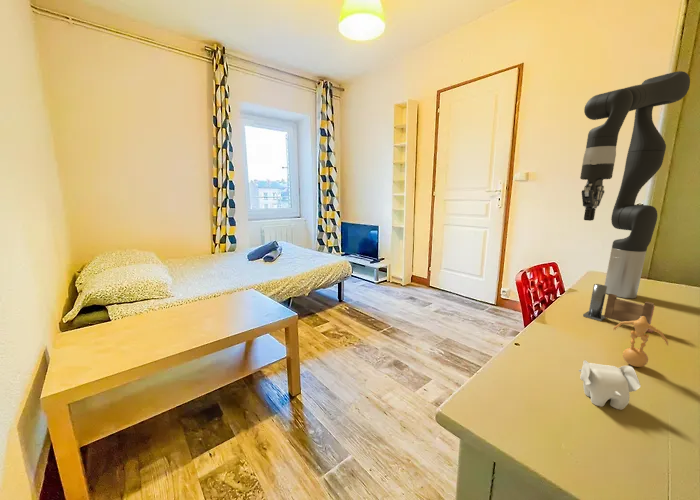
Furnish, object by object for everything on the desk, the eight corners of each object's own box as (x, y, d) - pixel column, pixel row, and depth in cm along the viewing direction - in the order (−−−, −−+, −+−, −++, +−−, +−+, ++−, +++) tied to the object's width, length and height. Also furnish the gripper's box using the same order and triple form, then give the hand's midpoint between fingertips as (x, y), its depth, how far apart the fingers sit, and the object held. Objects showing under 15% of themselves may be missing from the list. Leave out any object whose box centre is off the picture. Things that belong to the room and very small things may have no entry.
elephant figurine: (608, 384, 57) (615, 351, 56) (643, 421, 48) (653, 382, 47) (564, 378, 59) (570, 345, 58) (589, 412, 50) (597, 374, 48)
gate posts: (589, 311, 93) (595, 281, 91) (655, 329, 81) (663, 295, 79) (583, 316, 89) (588, 284, 87) (650, 335, 78) (658, 299, 76)
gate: (603, 317, 86) (608, 294, 85) (605, 315, 87) (609, 293, 86) (647, 328, 79) (653, 304, 78) (648, 327, 80) (654, 303, 79)
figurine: (661, 371, 62) (674, 318, 59) (658, 382, 58) (672, 326, 56) (610, 354, 68) (620, 305, 66) (604, 363, 64) (615, 312, 62)
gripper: (589, 165, 95) (581, 218, 99) (575, 163, 88) (566, 220, 91) (620, 163, 90) (609, 220, 93) (607, 161, 82) (597, 222, 85)
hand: (588, 220), depth 92 cm, fingers closed
